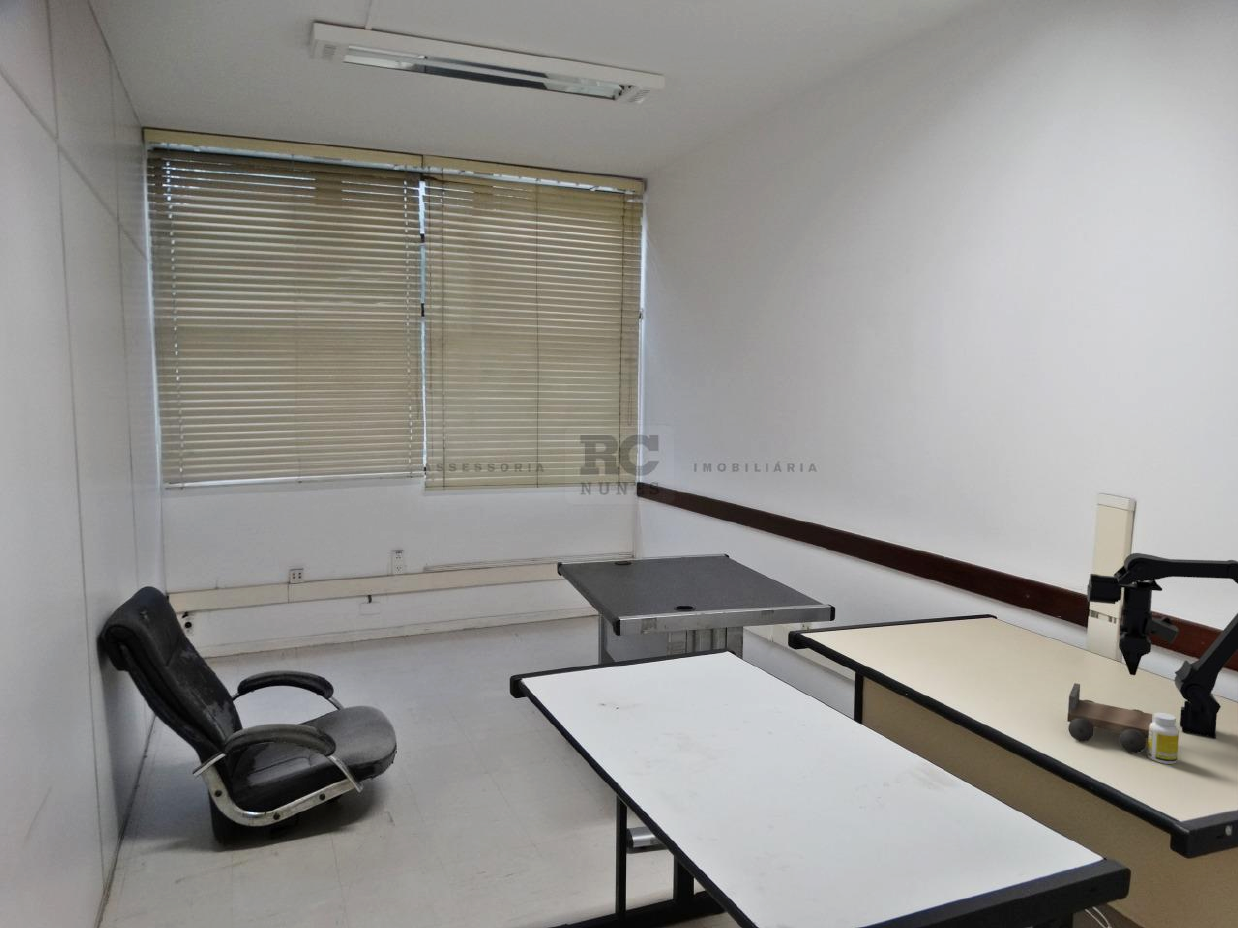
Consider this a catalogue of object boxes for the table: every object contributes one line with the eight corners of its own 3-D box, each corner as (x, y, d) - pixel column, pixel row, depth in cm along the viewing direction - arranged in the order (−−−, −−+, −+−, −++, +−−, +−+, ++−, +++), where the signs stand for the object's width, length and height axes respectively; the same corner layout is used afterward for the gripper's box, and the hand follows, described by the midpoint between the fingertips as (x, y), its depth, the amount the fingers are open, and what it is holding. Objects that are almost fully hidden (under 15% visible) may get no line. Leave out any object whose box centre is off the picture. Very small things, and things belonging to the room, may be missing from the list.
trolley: (1151, 733, 189) (1153, 694, 188) (1147, 756, 177) (1150, 715, 176) (1073, 716, 198) (1075, 680, 197) (1065, 737, 186) (1067, 698, 185)
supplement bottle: (1183, 763, 174) (1186, 719, 173) (1163, 766, 173) (1166, 722, 172) (1160, 752, 179) (1163, 709, 178) (1141, 755, 178) (1144, 712, 177)
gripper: (1179, 620, 181) (1174, 687, 183) (1175, 602, 197) (1171, 664, 198) (1121, 613, 187) (1117, 678, 189) (1121, 595, 203) (1118, 655, 204)
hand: (1132, 669), depth 195 cm, fingers open, 9 cm apart
